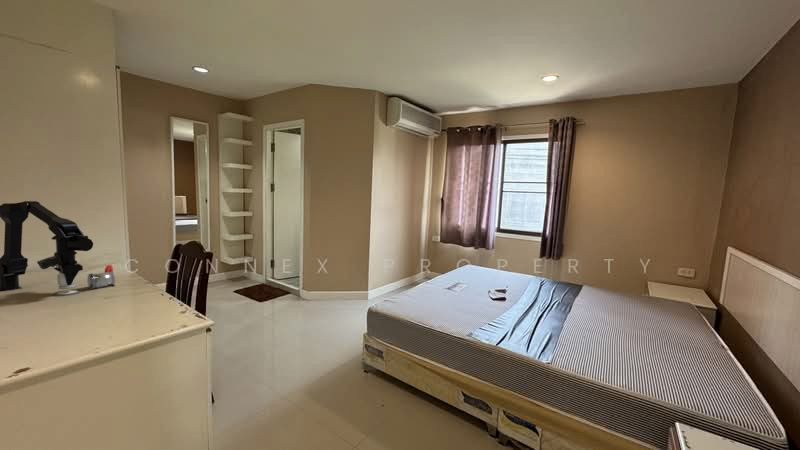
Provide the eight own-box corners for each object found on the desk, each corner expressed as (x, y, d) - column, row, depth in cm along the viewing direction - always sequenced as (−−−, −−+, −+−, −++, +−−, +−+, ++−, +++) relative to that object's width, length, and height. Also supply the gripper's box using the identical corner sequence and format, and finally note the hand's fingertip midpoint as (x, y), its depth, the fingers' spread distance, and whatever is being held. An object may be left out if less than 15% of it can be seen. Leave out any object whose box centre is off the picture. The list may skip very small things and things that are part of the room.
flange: (50, 293, 141) (50, 292, 141) (78, 288, 149) (78, 287, 149) (56, 297, 137) (56, 296, 137) (84, 292, 144) (84, 291, 144)
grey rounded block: (87, 287, 152) (86, 272, 151) (108, 284, 158) (108, 269, 158) (93, 290, 147) (93, 275, 147) (115, 287, 154) (115, 272, 153)
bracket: (102, 279, 167) (101, 264, 166) (113, 278, 169) (112, 263, 168) (91, 285, 156) (90, 269, 155) (103, 284, 158) (102, 268, 157)
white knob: (73, 285, 146) (73, 270, 146) (77, 287, 144) (77, 272, 143) (56, 287, 142) (55, 272, 141) (59, 290, 139) (59, 274, 138)
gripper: (32, 249, 139) (34, 284, 140) (45, 255, 130) (46, 292, 131) (68, 246, 149) (70, 279, 150) (82, 251, 139) (83, 286, 140)
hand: (67, 284), depth 143 cm, fingers closed on white knob, 5 cm apart
